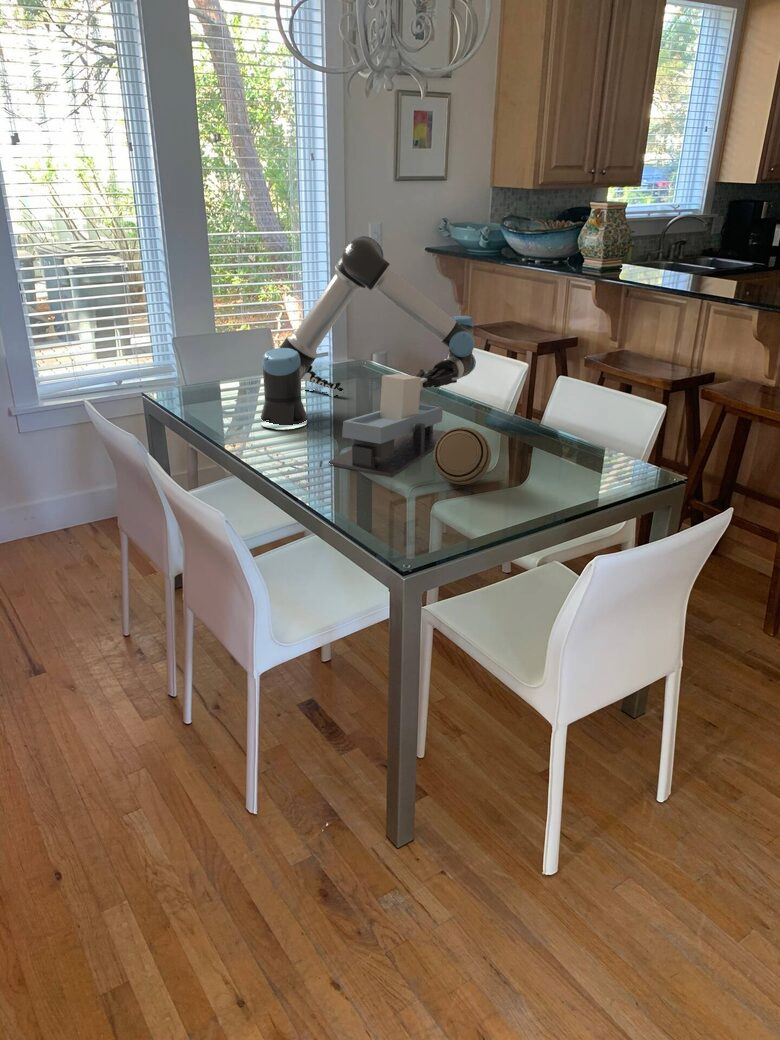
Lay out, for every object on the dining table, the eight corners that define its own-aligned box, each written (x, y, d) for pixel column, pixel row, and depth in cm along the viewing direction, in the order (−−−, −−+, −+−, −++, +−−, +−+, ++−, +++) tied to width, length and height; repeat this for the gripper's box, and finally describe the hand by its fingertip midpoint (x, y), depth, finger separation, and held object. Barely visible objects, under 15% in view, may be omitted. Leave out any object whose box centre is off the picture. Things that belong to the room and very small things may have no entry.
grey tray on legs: (405, 431, 252) (406, 401, 249) (442, 437, 246) (444, 407, 243) (339, 454, 218) (341, 420, 215) (381, 462, 213) (383, 427, 210)
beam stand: (397, 426, 255) (398, 399, 251) (454, 436, 246) (455, 408, 243) (328, 464, 221) (327, 433, 217) (391, 477, 212) (392, 445, 208)
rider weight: (396, 413, 237) (399, 373, 233) (418, 418, 232) (420, 377, 228) (379, 416, 231) (382, 375, 227) (401, 421, 226) (403, 379, 222)
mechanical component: (423, 477, 212) (424, 423, 206) (471, 470, 218) (474, 417, 212) (449, 496, 200) (451, 439, 194) (499, 488, 206) (503, 433, 199)
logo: (296, 387, 298) (299, 362, 293) (300, 386, 299) (303, 361, 294) (337, 409, 288) (341, 383, 282) (341, 407, 289) (345, 382, 284)
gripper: (466, 385, 249) (435, 402, 230) (428, 380, 254) (395, 396, 235) (467, 361, 246) (436, 377, 227) (429, 357, 251) (395, 371, 232)
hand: (415, 387), depth 231 cm, fingers closed
